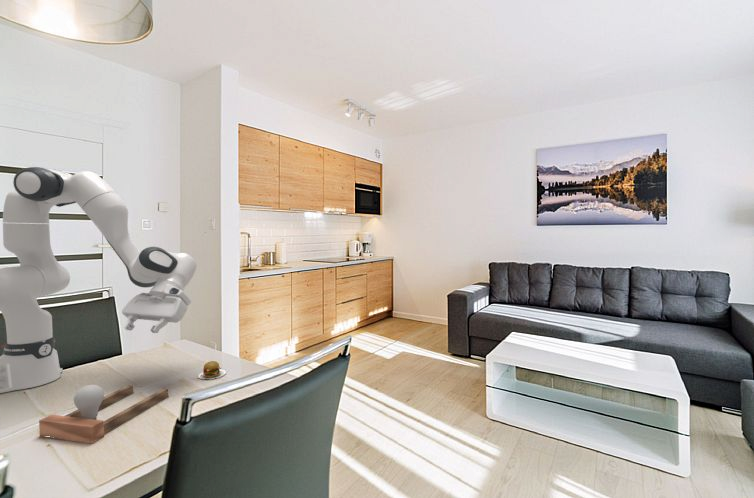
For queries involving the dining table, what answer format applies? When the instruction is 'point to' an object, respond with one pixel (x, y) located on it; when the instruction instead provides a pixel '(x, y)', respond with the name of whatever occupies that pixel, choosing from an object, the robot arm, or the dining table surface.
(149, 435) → the dining table surface
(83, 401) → the lightbulb
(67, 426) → the guide track
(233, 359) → the dining table surface
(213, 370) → the hamburger
